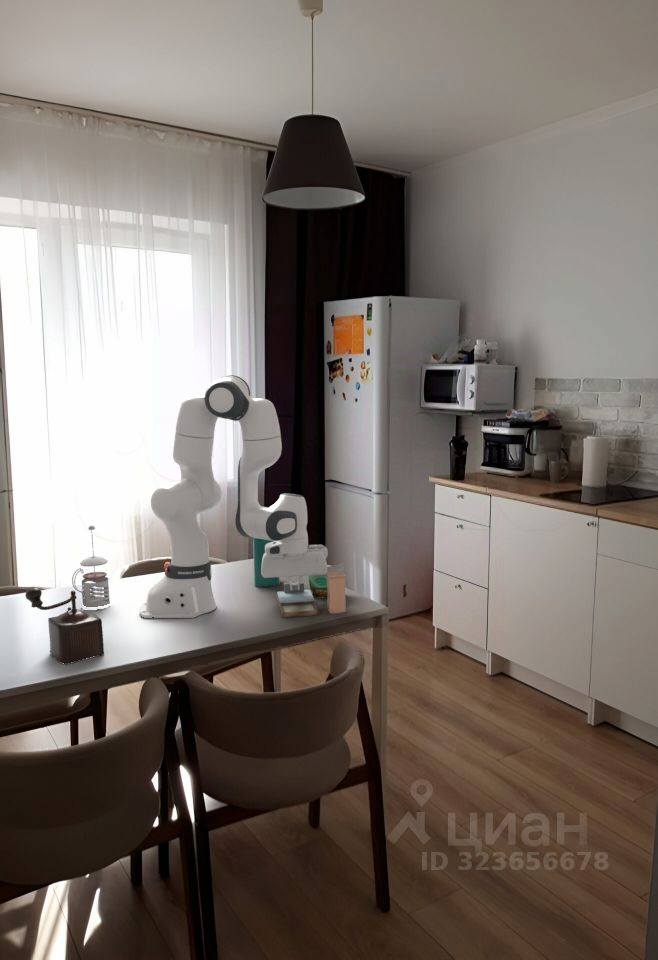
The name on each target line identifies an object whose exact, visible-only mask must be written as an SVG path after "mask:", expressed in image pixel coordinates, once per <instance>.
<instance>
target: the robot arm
mask: <svg viewBox="0 0 658 960" xmlns="http://www.w3.org/2000/svg"><path fill="white" fill-rule="evenodd" d="M276 410H277V409H276V407H275V406H274V403H273V402H272V401H270V399H266V398H262V397H261V398H259V397H256V398H255V397H251V391H250V386H249V384H248V383H247V381H246V380H244V379H243V378H242V377H240V376H238V375H232V374H231V375H225V376H221V377H219V378H217V379H216V380H214V381H213V382H212V383H210V385H209V386H208V387H207V388H206V390H205V394H204V395H198V394H197V395H195V394H194V395H190V396H188V397H186V398H184V399H183V400H182V402H181V405H180V408H179V412H178V416H177V420H176V424H175V425H176V426H175V433H174V441H173V442H174V443H173V451H172V459H173V461H174V462H175V464H177V465H178V466H179V468H180V475H181V476H180V480H177V481H172V482H168V483H166V484H163V485H162V486H159V488H156V489H155V490H154V491H153V493H152V494H151V498H150V506H151V507H150V508H151V510H152V512H153V514H154V515H155V517H157V518H158V519H159V520H161V522H162V524H163V525H164V526H165V529H166V532H167V534H168V537H169V547H170V558H171V562H170V561H166V562H165V563H164V565H163V568H164V577H163V578H161V579H160V580H159V581H157V583H155V584H154V585H153V586H152V587H151V588H150V589H149V591H148V593H147V597H146V602H144V603H143V604H142V605H141V606H140V607H139V612H140V613H139V616H140V615H141V616H142V617H141V616H140V617H141V618H143V617H144V618H143V619H193V618H197V617H199V616H200V615H203V614H207V613H210V612H213V611H214V610H216V608H218V607H217V603H216V600H215V596H214V592H213V588H212V581H211V580H212V577H213V576H212V575H213V574H212V573H213V571H212V563H211V560H210V554H209V553H210V551H209V547H210V546H209V537H208V535H207V533H206V532H205V531H203V530H202V529H201V527H200V526H199V525H200V524H199V522H198V518H197V517H198V516H197V515H201V514H205V513H208V512H210V511H211V510H213V509H215V507H217V506H218V505H219V504H220V503H221V501H222V496H223V494H222V493H223V492H222V488H221V485H220V484H219V483H218V482H217V480H216V478H215V477H214V473H213V463H212V462H213V461H212V459H213V448H214V438H215V431H216V424H217V421H218V419H219V418H220V419H225V420H230V421H233V422H237V421H238V422H239V426H240V430H241V437H242V453H241V456H240V458H239V460H238V466H237V509H236V515H235V522H234V523H235V528H236V530H237V532H238V533H239V534H240V535H241V536H242V537H244V538H248V539H249V538H250V539H253V538H259V539H264V540H270V541H273V542H270V543H268V544H266V545H265V553H264V555H263V558H262V566H261V575H262V576H263V577H264V578H270V577H280V578H285V577H286V583H289V585H290V590H300V584H301V582H303V580H304V577H305V576H306V577H308V576H310V575H325V574H326V573H327V565H328V563H327V558H328V555H329V552H328V551H329V550H328V548H327V546H326V545H323V544H309V536H308V535H309V534H308V530H307V527H308V526H307V525H308V507H307V502H306V499H305V497H304V495H301V494H295V493H287V492H286V493H281V494H280V495H279V498H278V499H277V501H275V503H274V504H272V505H270V506H269V507H267V506H262V505H260V502H259V497H258V496H259V493H258V491H259V488H258V487H259V481H258V480H259V476H260V473H262V471H264V470H266V469H267V468H270V467H271V466H273V465H274V464H276V462H278V460H279V459H280V457H281V455H282V450H283V446H282V435H281V427H280V423H279V417H278V414H277V411H276ZM292 577H297V579H298V581H296V582H297V583H293V584H292V581H291V580H292ZM152 617H154V618H152Z"/></svg>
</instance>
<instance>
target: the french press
mask: <svg viewBox="0 0 658 960" xmlns="http://www.w3.org/2000/svg"><path fill="white" fill-rule="evenodd" d="M88 530H89V531H91V532H93V530H96V527H95V526H94V525H90V526H89V527H88ZM93 538H94V537H93V535H91V544H92V548H94V540H93ZM108 562H109V560H108V559H106V558H105V557H102V556H95V553H94V551H92V556H90V557H87V558H85V559H83V560H82V561H80V562H79V564H80V565H81V567H93V571H92V572H86V573H84V569H83V568H77V569H76V570H75V571H74V573H73V576H72V579H71V582H72V583H71V584H72V587H73V588H74V589H75V590H74V591H77V592H79V593H81V597H82V598H81V599H82V604H83V605H84V606H86V607H98V606H104V605H107V604H110V601H111V600H110V590H109V584H110V583H109V578H108V577H106V576H108V575H107V574H108V573H106V572H104V571H95V567H99V566H103V565H105V564H107V563H108ZM79 573H81V574H83V575H82V578H83V579H82V580H81V590H82V591H81V590H79V589H78V588H77V586H76V579H77V578H76V577H77V576H78V574H79Z"/></svg>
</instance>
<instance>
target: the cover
mask: <svg viewBox="0 0 658 960" xmlns="http://www.w3.org/2000/svg"><path fill="white" fill-rule="evenodd" d="M297 582H298V581H296V582H295V581H294V582H292V581H291V583H292V584H293V583H297ZM276 592H277V594H278V598H279V601H280V603H291V602H307V601H314V602H315V597H313V595H312V593H311V591H310V589H305V582H304V581H302V582H301V584H300V590H290V585H289V583H288V582H284V583H283V591H281V590H280V591H276Z"/></svg>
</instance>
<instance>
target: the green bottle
mask: <svg viewBox="0 0 658 960" xmlns="http://www.w3.org/2000/svg"><path fill="white" fill-rule="evenodd" d="M270 542H273V541H270V540H264V539H259V538H252V550H253V551H252V552H253V556H252V557H253V579H254V580H253V581H254V582H253V583H254V586H256V587H257V588H268V587H270V588H271V587H272V586H273V587H278V586H280V584H281V577H270V578H264V577H263V576H262V575H261V566H262V558H263V555H264V553H265V545H266V544H268V543H270ZM273 587H272V588H273Z"/></svg>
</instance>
